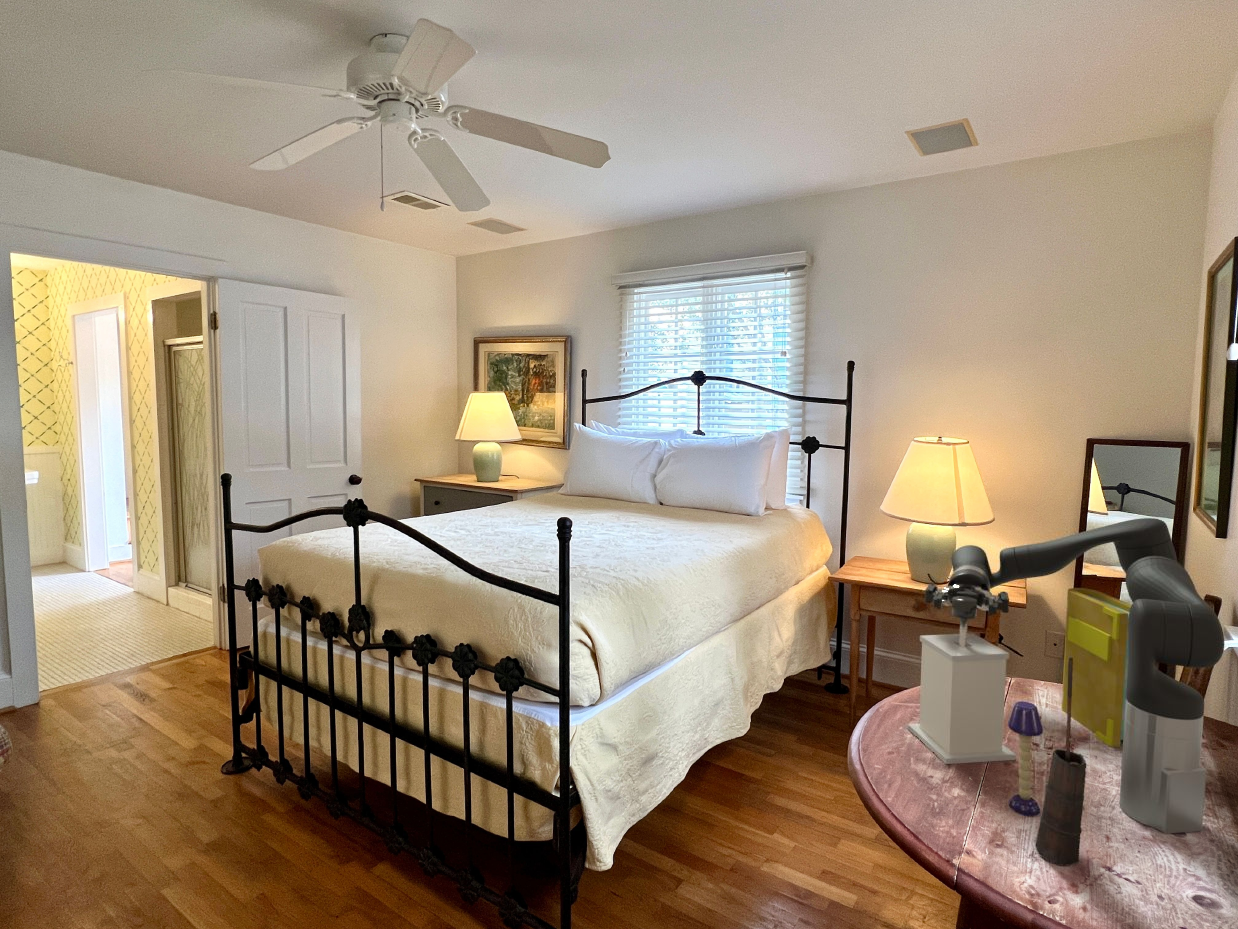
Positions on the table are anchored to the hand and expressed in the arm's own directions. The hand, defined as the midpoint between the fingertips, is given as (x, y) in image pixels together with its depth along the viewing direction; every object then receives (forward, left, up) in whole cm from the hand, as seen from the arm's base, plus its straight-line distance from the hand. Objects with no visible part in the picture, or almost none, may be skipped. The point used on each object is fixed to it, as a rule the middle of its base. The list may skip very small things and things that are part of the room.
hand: (964, 607), depth 126 cm
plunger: (-1, +1, -24) cm, 24 cm away
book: (+3, -30, -26) cm, 40 cm away
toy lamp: (-21, +3, -26) cm, 33 cm away
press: (-1, +1, -25) cm, 26 cm away
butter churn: (-33, +6, -26) cm, 42 cm away
